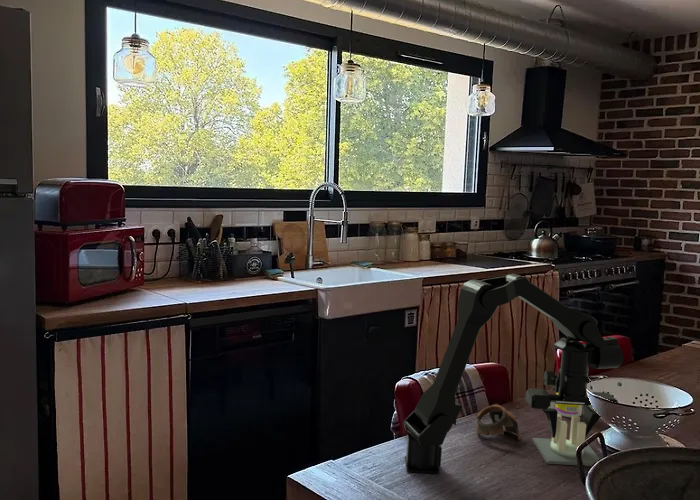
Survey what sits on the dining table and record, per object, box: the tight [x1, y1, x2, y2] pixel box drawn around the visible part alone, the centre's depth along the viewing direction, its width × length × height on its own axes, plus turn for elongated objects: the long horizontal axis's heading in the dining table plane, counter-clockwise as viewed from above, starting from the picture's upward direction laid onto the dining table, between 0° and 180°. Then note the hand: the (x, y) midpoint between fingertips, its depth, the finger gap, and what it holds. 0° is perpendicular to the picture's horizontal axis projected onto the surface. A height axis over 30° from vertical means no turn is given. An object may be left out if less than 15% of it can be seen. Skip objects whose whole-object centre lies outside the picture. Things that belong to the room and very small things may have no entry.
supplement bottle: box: [555, 392, 583, 418], centre depth 165 cm, size 7×7×13 cm
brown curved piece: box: [475, 403, 521, 441], centre depth 149 cm, size 12×10×8 cm
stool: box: [550, 413, 586, 458], centre depth 140 cm, size 7×7×7 cm
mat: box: [532, 437, 601, 467], centre depth 141 cm, size 12×12×1 cm
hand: (567, 437), depth 140 cm, fingers open, 6 cm apart
